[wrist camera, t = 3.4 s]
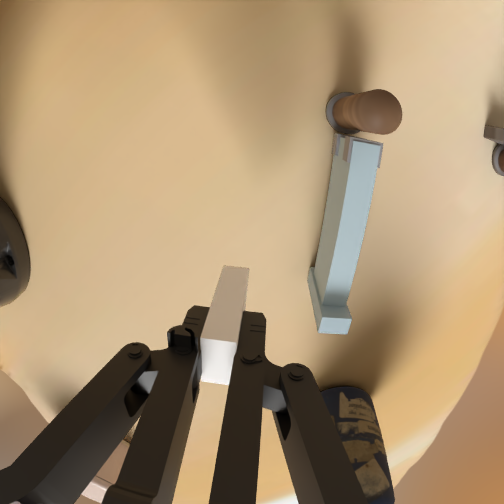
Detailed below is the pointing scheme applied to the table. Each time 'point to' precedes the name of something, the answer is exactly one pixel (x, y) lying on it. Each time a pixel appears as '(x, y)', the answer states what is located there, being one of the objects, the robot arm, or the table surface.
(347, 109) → the gateposts
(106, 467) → the container
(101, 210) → the table surface
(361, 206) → the gate
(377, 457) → the canister
